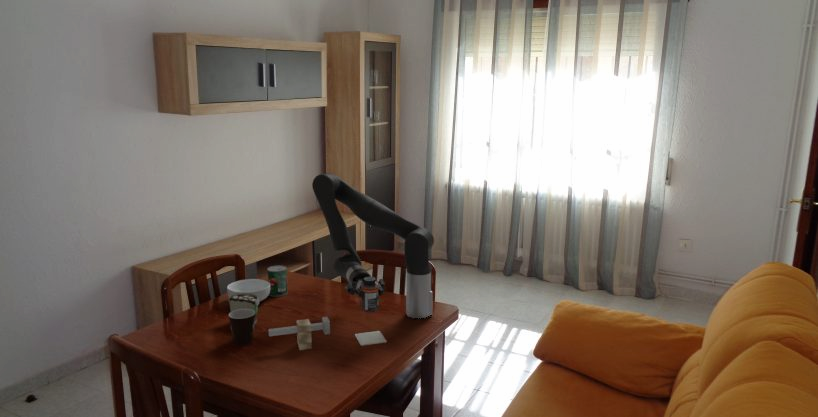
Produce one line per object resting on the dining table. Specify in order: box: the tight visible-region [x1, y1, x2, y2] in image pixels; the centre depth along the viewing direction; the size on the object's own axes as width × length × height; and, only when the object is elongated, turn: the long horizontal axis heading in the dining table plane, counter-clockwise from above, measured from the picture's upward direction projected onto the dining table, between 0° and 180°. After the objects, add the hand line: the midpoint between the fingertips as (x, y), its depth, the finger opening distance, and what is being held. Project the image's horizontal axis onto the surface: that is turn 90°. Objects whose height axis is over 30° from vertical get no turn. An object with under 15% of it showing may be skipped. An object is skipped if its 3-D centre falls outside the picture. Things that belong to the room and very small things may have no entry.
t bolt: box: [267, 316, 331, 337], centre depth 198 cm, size 20×4×4 cm, turn 109°
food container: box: [227, 293, 260, 327], centre depth 220 cm, size 12×6×10 cm, turn 71°
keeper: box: [296, 318, 313, 351], centre depth 199 cm, size 4×5×9 cm
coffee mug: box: [228, 309, 255, 346], centre depth 204 cm, size 12×9×10 cm
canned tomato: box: [266, 264, 289, 298], centre depth 248 cm, size 8×8×11 cm
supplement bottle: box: [360, 276, 380, 314], centre depth 202 cm, size 6×6×11 cm
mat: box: [354, 330, 387, 347], centre depth 206 cm, size 9×9×1 cm
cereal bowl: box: [226, 278, 270, 302], centre depth 239 cm, size 17×17×7 cm
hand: (371, 294), depth 199 cm, fingers closed on supplement bottle, 6 cm apart
